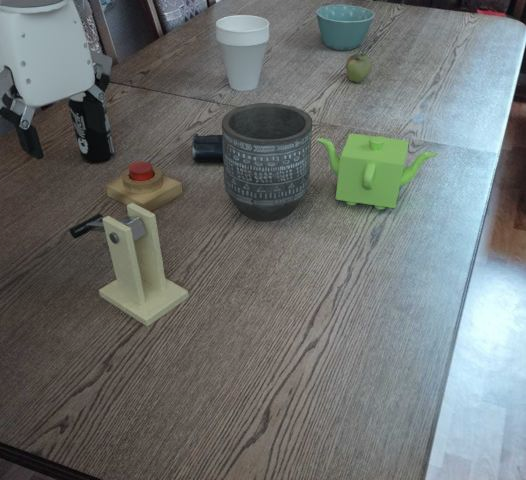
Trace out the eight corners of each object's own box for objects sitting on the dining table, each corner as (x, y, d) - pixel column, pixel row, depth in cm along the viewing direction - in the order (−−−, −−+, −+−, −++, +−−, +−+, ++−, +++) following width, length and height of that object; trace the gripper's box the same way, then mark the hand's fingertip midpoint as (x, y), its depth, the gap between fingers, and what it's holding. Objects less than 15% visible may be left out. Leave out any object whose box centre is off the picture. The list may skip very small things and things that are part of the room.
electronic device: (194, 175, 106) (271, 163, 105) (188, 146, 103) (267, 134, 101) (198, 158, 113) (270, 147, 112) (192, 131, 110) (266, 119, 109)
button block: (107, 195, 98) (102, 175, 95) (145, 176, 103) (141, 156, 100) (145, 215, 94) (141, 194, 91) (182, 194, 98) (180, 173, 96)
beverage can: (74, 158, 108) (58, 95, 99) (99, 145, 111) (85, 84, 103) (98, 167, 105) (83, 103, 97) (122, 154, 109) (110, 92, 100)
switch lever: (74, 241, 78) (66, 225, 76) (102, 226, 80) (95, 210, 79) (125, 246, 69) (118, 228, 68) (155, 229, 71) (148, 211, 70)
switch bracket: (100, 296, 79) (78, 215, 69) (142, 270, 83) (126, 190, 74) (147, 327, 74) (130, 245, 65) (189, 297, 79) (179, 216, 69)
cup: (252, 99, 128) (252, 34, 118) (208, 89, 132) (204, 25, 123) (277, 82, 136) (279, 19, 126) (235, 72, 140) (233, 11, 130)
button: (125, 177, 95) (123, 167, 94) (143, 168, 98) (141, 159, 96) (141, 184, 94) (139, 175, 92) (158, 175, 96) (157, 166, 95)
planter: (209, 213, 94) (202, 127, 83) (253, 177, 103) (252, 95, 92) (280, 238, 89) (283, 150, 78) (321, 199, 97) (328, 114, 87)
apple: (367, 74, 139) (371, 48, 135) (369, 86, 134) (373, 60, 130) (343, 73, 140) (346, 48, 136) (344, 85, 134) (347, 59, 130)
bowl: (372, 38, 159) (377, 6, 153) (367, 57, 148) (371, 22, 142) (319, 34, 161) (321, 2, 155) (309, 52, 150) (311, 18, 145)
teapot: (425, 205, 96) (440, 146, 88) (367, 228, 91) (376, 169, 83) (368, 169, 105) (376, 113, 97) (312, 188, 100) (316, 131, 92)
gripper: (75, -32, 65) (102, 113, 77) (-67, -3, 56) (-10, 156, 68) (115, -20, 62) (138, 129, 74) (-28, 12, 52) (25, 177, 65)
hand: (67, 142), depth 71 cm, fingers open, 9 cm apart
